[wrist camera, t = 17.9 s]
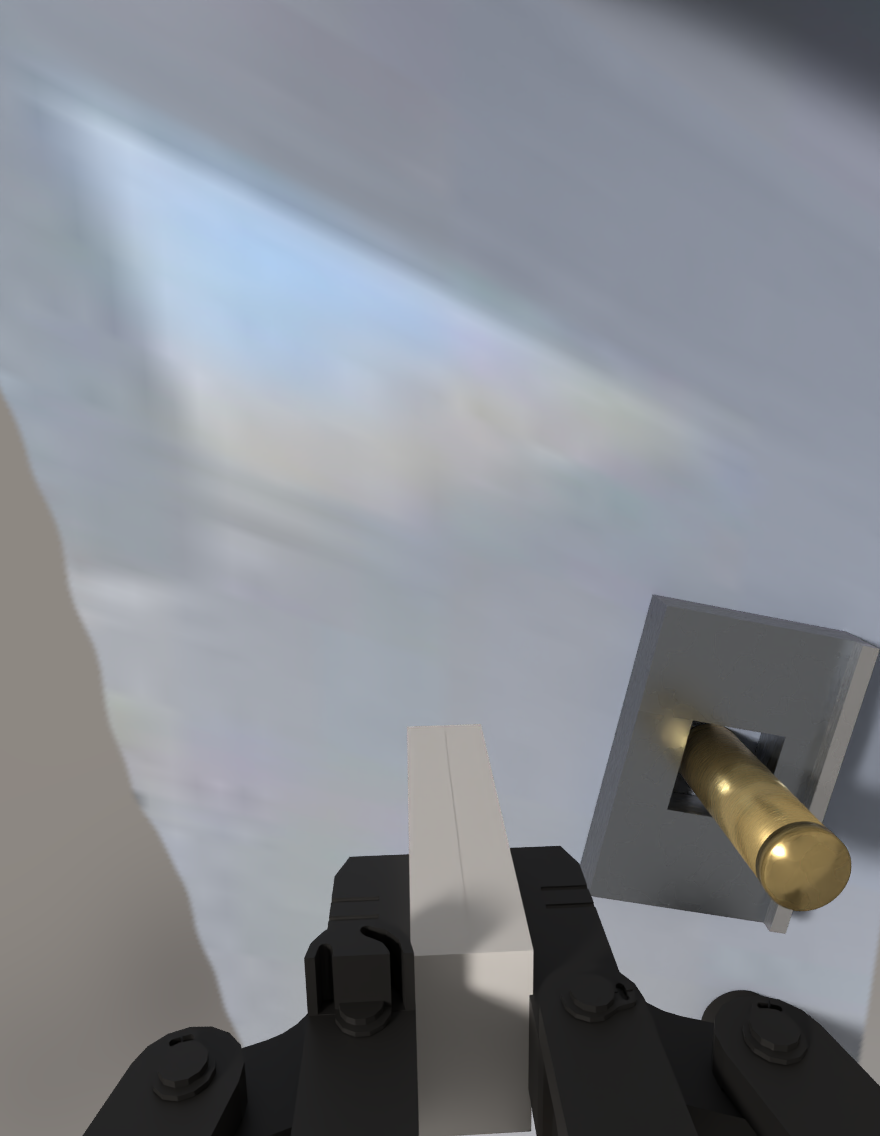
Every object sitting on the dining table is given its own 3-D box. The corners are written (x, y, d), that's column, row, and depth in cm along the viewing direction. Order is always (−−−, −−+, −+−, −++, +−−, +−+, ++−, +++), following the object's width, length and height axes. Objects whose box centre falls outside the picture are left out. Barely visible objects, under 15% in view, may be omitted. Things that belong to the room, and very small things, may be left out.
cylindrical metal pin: (684, 717, 47) (778, 823, 35) (749, 729, 47) (863, 838, 36) (666, 779, 48) (751, 903, 36) (729, 790, 48) (835, 917, 36)
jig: (652, 594, 45) (672, 609, 42) (846, 631, 46) (879, 648, 43) (578, 870, 49) (591, 904, 46) (760, 899, 50) (785, 933, 47)
